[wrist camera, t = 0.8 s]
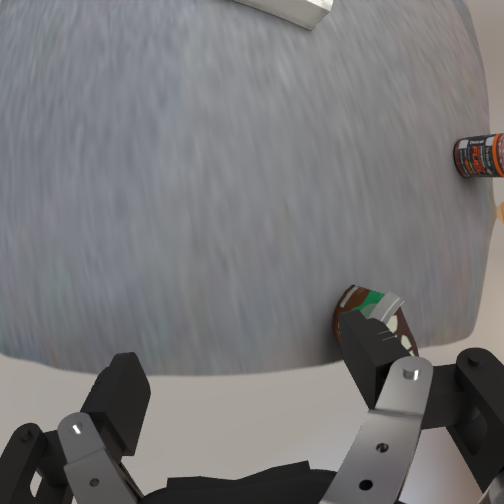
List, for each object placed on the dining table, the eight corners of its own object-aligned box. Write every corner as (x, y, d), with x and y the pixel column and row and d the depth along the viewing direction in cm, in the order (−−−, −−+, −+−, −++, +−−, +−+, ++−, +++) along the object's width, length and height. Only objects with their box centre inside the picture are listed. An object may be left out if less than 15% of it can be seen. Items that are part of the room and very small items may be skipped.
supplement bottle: (447, 147, 37) (509, 140, 26) (465, 132, 38) (523, 124, 27) (461, 185, 39) (523, 185, 28) (479, 167, 40) (536, 165, 29)
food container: (304, 306, 35) (350, 340, 25) (347, 274, 36) (402, 296, 26) (347, 377, 38) (390, 417, 28) (383, 348, 39) (432, 380, 29)
